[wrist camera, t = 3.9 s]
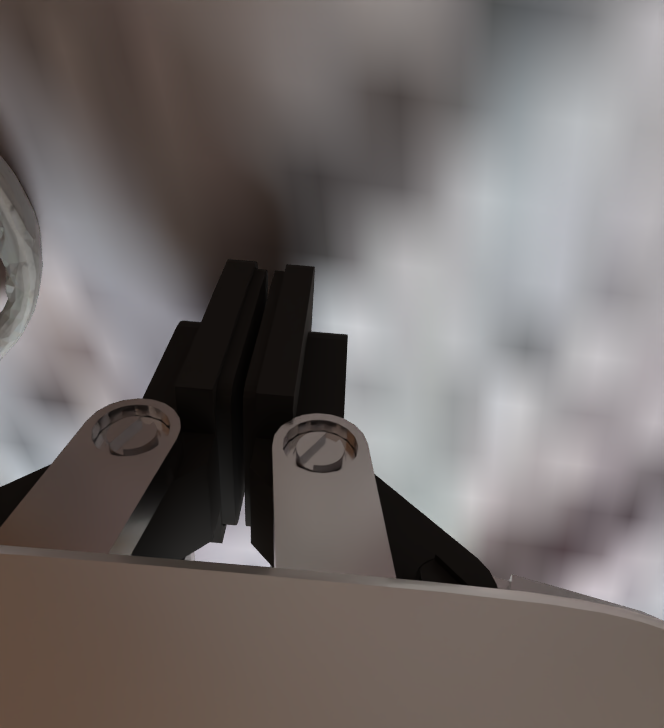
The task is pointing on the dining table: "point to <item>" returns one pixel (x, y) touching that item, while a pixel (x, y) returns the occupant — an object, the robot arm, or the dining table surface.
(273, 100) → the dining table surface
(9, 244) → the ceramic mug
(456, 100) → the dining table surface
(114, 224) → the dining table surface
